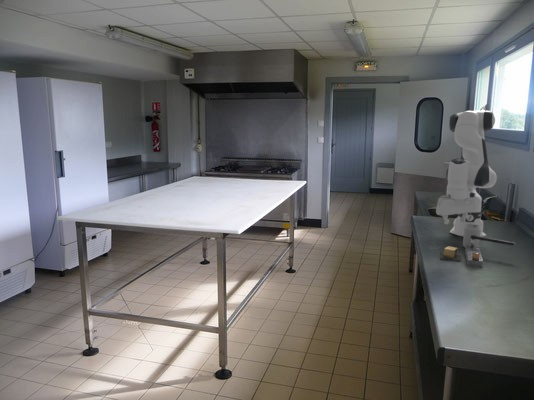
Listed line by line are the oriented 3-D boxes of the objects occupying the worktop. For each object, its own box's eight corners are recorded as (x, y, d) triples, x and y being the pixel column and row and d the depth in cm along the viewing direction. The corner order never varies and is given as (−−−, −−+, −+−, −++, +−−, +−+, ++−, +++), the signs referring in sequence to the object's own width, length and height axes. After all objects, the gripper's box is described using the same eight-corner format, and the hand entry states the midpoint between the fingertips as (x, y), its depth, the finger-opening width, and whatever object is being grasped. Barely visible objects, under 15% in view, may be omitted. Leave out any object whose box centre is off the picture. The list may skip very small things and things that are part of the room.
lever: (469, 238, 207) (470, 235, 206) (471, 237, 208) (471, 234, 208) (513, 245, 194) (514, 243, 194) (515, 244, 196) (515, 242, 196)
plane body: (464, 251, 210) (466, 237, 209) (478, 252, 208) (479, 238, 207) (467, 266, 188) (469, 250, 187) (482, 268, 186) (484, 252, 184)
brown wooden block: (447, 254, 204) (448, 246, 203) (457, 256, 201) (458, 247, 200) (443, 256, 199) (444, 248, 199) (453, 258, 197) (454, 250, 196)
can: (480, 250, 212) (482, 227, 210) (464, 249, 213) (466, 226, 211) (476, 246, 219) (478, 223, 217) (460, 245, 221) (463, 223, 219)
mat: (440, 253, 206) (440, 252, 206) (460, 255, 203) (460, 254, 203) (440, 259, 197) (440, 258, 197) (461, 261, 194) (461, 260, 194)
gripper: (443, 197, 188) (441, 226, 191) (478, 193, 195) (476, 222, 197) (433, 194, 194) (432, 223, 196) (468, 191, 201) (466, 219, 203)
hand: (454, 222), depth 197 cm, fingers open, 8 cm apart
